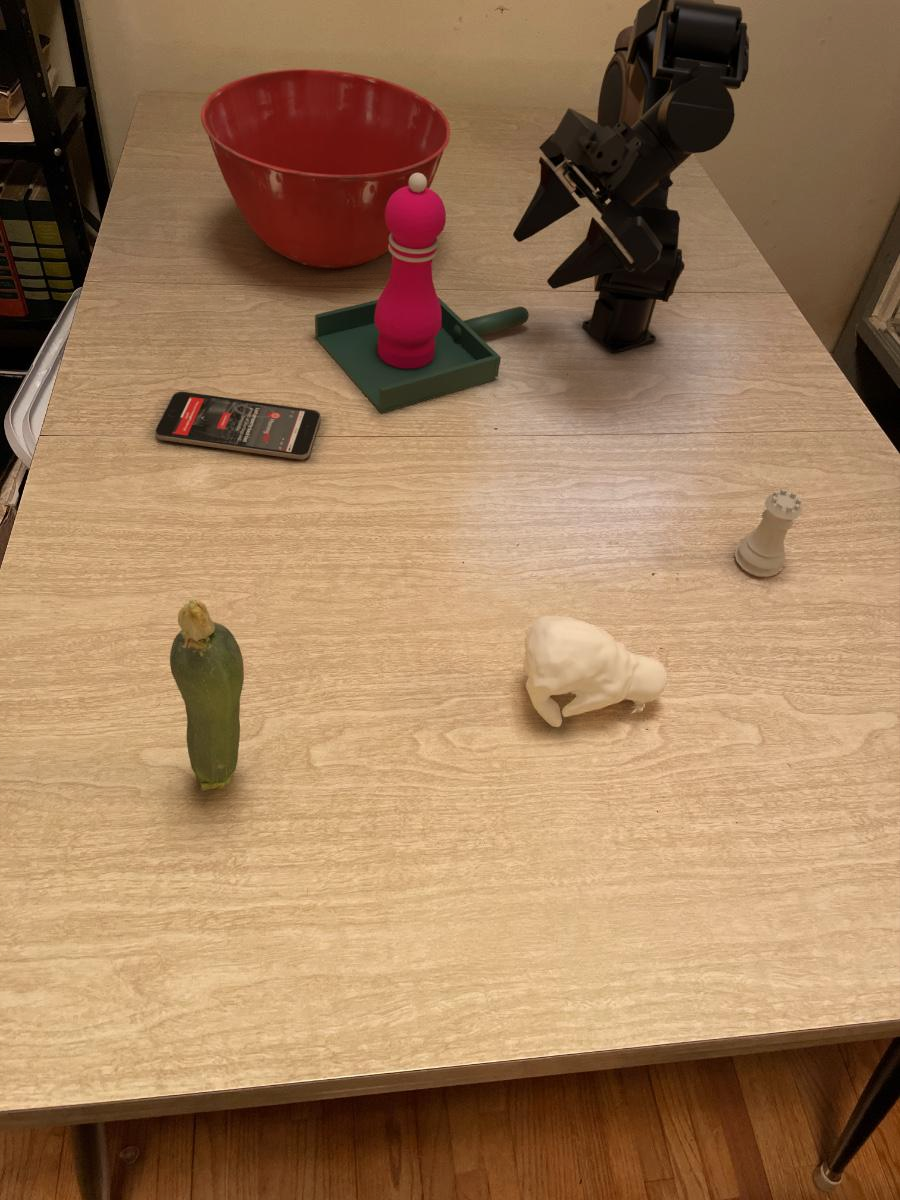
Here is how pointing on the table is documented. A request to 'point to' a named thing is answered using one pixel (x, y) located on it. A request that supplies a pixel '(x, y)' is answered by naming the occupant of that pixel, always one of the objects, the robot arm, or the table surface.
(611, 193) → the robot arm
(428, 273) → the pepper mill
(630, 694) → the cream lumpy piece
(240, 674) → the vegetable
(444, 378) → the scoop
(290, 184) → the mixing bowl
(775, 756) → the table surface
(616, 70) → the alarm clock
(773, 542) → the rook chess piece
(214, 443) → the smartphone
